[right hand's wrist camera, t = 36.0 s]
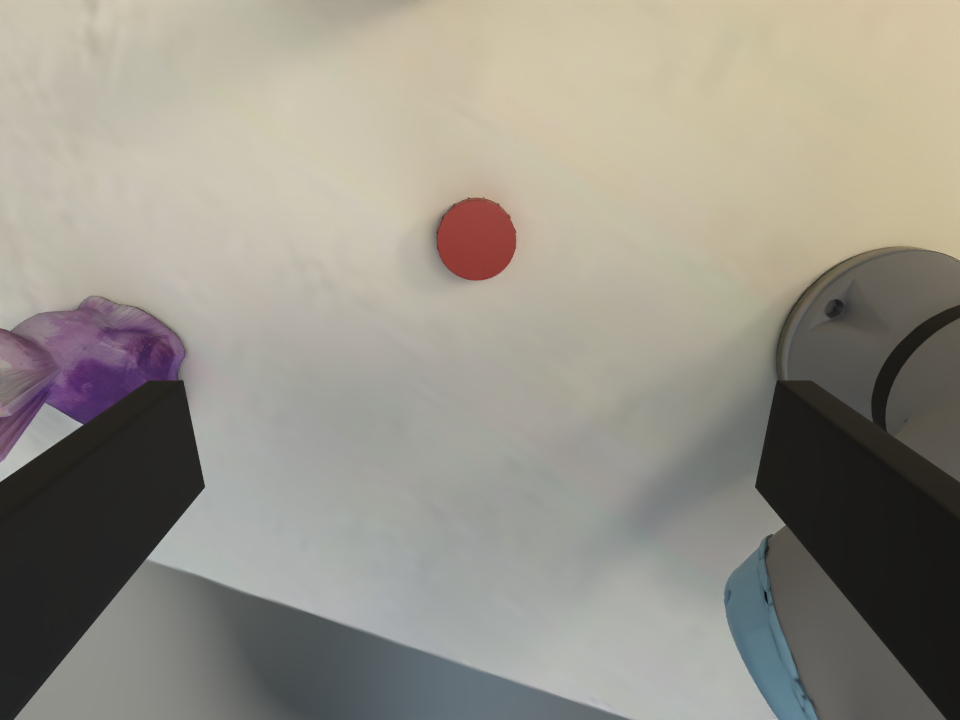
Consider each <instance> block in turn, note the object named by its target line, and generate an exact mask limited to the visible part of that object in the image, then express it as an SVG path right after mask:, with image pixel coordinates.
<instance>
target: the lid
mask: <svg viewBox="0 0 960 720" xmlns="http://www.w3.org/2000/svg"><path fill="white" fill-rule="evenodd" d="M442 219H443V220H442V222H441V224H440V226H439V229H438V231H437V249H438V252H439V254H440V257H441V259H442V261H443V263H444V264H445V265H446V266H447V268H448V269H449V270H450V271H452V272H453V273H454V274H456V275H457V276H459V277H462V278H464V279H468V280H485V279H489V278H492V277H494V276H496V275H497V274H499V273H500V272H501V271H503V270H504V269H505V268H506V266H507V265H508V264H509V263H510V261H511V259H512V257H513V254H514V251H515V249H516V235H515V233H516V231H515V229H514V227H513V224H512V222H511V220H510V216H509V214H508V215H507V213H506V212H505V211H504V210H503V209H502V208H501V207H500V206H499V204H498V203H497V204H496V203H494V202H492V201H490V200H487V199H485V198H484V197H483V198H468V199H466V200H463V201H461V202H459V203H457V204H454V205H453V207H452V208H451V209H450V210H449V211H448V212H447V213H446V215H444V216H443V218H442Z"/></svg>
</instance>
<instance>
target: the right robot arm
mask: <svg viewBox="0 0 960 720" xmlns="http://www.w3.org/2000/svg"><path fill="white" fill-rule="evenodd" d="M777 368H778V375H779V380H777V382H776V387H775V392H774V397H773V401H772V406H771V411H770V416H769V421H768V426H767V431H766V436H765V441H764V445H763V450H762V455H761V460H760V465H759V470H758V475H757V480H756V484H755V488H756V489H757V490H758V491H759V493H760V494H761V495H762V496H763V497H764V499H765V500H766V501H767V502H768V503H769V505H770V506H771V507H772V508H773V510H774V511H775V512H776V513H777V514H778V516H779V517H780V518H781V519H782V520H783V522H784V523H785V524H786V526H784V527H783V528H782V529H781V530H779V531H778V532H777V533H775V534H770V535H769V536H767V537H766V538H765V539H763V540H762V542H761V544H760V547H759V548H758V549H757V550H756V551H755V552H754V553H753V554H752V555H751V556H749V557H748V558H747V559H746V560H745V561H744V562H743V563H742V564H741V565H740V566H739V567H738V568H737V569H736V570H734V571H733V573H732V574H731V575H730V577H729V578H728V581H727V583H726V586H725V591H724V603H725V608H726V617H727V621H728V624H729V628H730V631H731V633H732V636H733V639H734V641H735V644H736V646H737V648H738V651H739V653H740V655H741V657H742V659H743V661H744V663H745V665H746V667H747V669H748V671H749V673H750V675H751V676H752V678H753V680H754V682H755V684H756V685H757V687H758V689H759V690H760V692H761V694H762V695H763V697H764V698H765V700H766V702H767V703H768V705H769V706H770V708H771V709H772V711H773V712H774V714H775V715H776V717H777V718H778V720H960V261H959V260H957V259H955V258H953V257H951V256H948V255H946V254H942V253H939V252H935V251H930V250H925V249H921V248H914V247H889V248H882V249H877V250H873V251H869V252H866V253H863V254H861V255H858V256H856V257H853V258H851V259H849V260H847V261H845V262H843V263H841V264H840V265H838V266H836V267H835V268H833V269H832V270H830V271H829V272H828V273H826V274H825V275H824V276H822V277H821V278H820V279H819V280H818V281H817V282H815V283H814V284H813V285H812V286H811V287H810V288H809V289H808V290H807V292H806V293H805V294H804V295H803V296H802V298H801V299H800V300H799V301H798V303H797V304H796V306H795V307H794V309H793V310H792V312H791V314H790V316H789V317H788V319H787V322H786V324H785V326H784V328H783V331H782V334H781V337H780V342H779V346H778V353H777ZM204 488H205V484H204V480H203V475H202V470H201V465H200V460H199V455H198V450H197V445H196V441H195V436H194V431H193V426H192V421H191V416H190V411H189V406H188V401H187V397H186V392H185V387H184V382H183V380H148V381H147V382H145V383H144V384H143V385H141V386H140V387H138V388H137V389H135V390H134V391H132V392H131V393H129V394H128V395H127V396H125V397H124V398H122V399H121V400H119V401H118V402H116V403H115V404H113V405H112V406H110V407H109V408H108V409H106V410H105V411H103V412H102V413H100V414H99V415H97V416H96V417H94V418H93V419H92V420H90V421H89V422H87V423H86V424H84V425H83V426H81V427H80V428H78V429H77V430H76V431H74V432H73V433H71V434H70V435H68V436H67V437H65V438H64V439H62V440H61V441H59V442H58V443H57V444H55V445H54V446H52V447H51V448H49V449H48V450H46V451H45V452H43V453H42V454H41V455H39V456H38V457H36V458H35V459H33V460H32V461H30V462H29V463H27V464H26V465H25V466H23V467H22V468H20V469H19V470H17V471H16V472H14V473H13V474H11V475H10V476H8V477H7V478H6V479H4V480H3V481H1V482H0V720H14V718H15V717H16V716H17V715H18V714H19V712H20V711H21V710H22V709H23V708H24V706H25V705H26V704H27V703H28V701H29V700H30V699H31V698H32V697H33V695H34V694H35V693H36V692H37V691H38V689H39V688H40V687H41V686H42V685H43V683H44V682H45V681H46V680H47V678H48V677H49V676H50V675H51V674H52V672H53V671H54V670H55V669H56V667H57V666H58V665H59V664H60V663H61V661H62V660H63V659H64V658H65V657H66V655H67V654H68V653H69V652H70V650H71V649H72V648H73V647H74V646H75V644H76V643H77V642H78V641H79V639H80V638H81V637H82V636H83V635H84V633H85V632H86V631H87V630H88V629H89V627H90V626H91V625H92V624H93V623H94V621H95V620H96V619H97V618H98V616H99V615H100V614H101V613H102V612H103V610H104V609H105V608H106V607H107V606H108V604H109V603H110V602H111V601H112V599H113V598H114V597H115V596H116V595H117V593H118V592H119V591H120V590H121V589H122V587H123V586H124V585H125V584H126V582H127V581H128V580H129V579H130V578H131V576H132V575H133V574H134V573H135V572H136V570H137V569H138V568H139V567H140V565H141V564H142V563H143V562H144V561H145V559H146V558H147V557H148V556H149V555H150V553H151V552H152V551H153V550H154V548H155V547H156V546H157V545H158V544H159V542H160V541H161V540H162V539H163V537H164V536H165V535H166V534H167V533H168V531H169V530H170V529H171V528H172V527H173V525H174V524H175V523H176V522H177V520H178V519H179V518H180V517H181V516H182V514H183V513H184V512H185V511H186V510H187V508H188V507H189V506H190V505H191V503H192V502H193V501H194V500H195V499H196V497H197V496H198V495H199V494H200V493H201V491H202V490H203V489H204Z"/></svg>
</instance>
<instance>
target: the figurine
mask: <svg viewBox="0 0 960 720" xmlns="http://www.w3.org/2000/svg"><path fill="white" fill-rule="evenodd" d="M184 356H185V350H184V346H183V344H182V343H181V341H180V338H179V337H178V336H177V335H176V333H174V332H172V331H171V330H170V329H168V328H167V327H166V326H164V325H163V324H162V323H161V322H159V321H158V320H156V319H155V318H154V317H152V316H151V315H149V314H147V313H146V312H144V311H142V310H140V309H139V308H137V307H131V306H125V305H117V304H116V303H112V302H110V301H108V300H105V299H104V298H101V297H96V296H90V297H88V298H86V299H84V301H83V302H82V303H81V305H80V306H79V308H78V309H77V310H73V311H54V312H45V313H39V314H36V315H34V316H32V317H30V318H28V319H27V320H25V321H23V322H22V323H20V324H19V325H17V326H16V327H15V328H14V329H12V330H11V331H8V330H5V329H1V328H0V462H1V461H3V460H4V459H5V458H6V456H7V455H8V453H9V452H10V451H11V449H12V448H13V446H14V445H15V443H16V442H17V441H18V439H19V438H20V436H21V435H22V434H23V432H24V431H25V429H26V428H27V427H28V425H29V424H30V422H31V421H32V420H33V418H34V417H35V415H36V414H37V412H38V411H39V410H40V408H41V407H42V405H43V404H44V403H47V404H49V405H50V406H52V407H54V408H56V409H58V410H59V411H61V412H63V413H64V414H66V415H68V416H69V417H71V418H73V419H74V420H76V421H78V422H80V423H82V424H86V423H87V422H89V421H90V420H92V419H93V418H94V417H96V416H97V415H99V414H100V413H102V412H103V411H105V410H106V409H108V408H109V407H110V406H112V405H113V404H115V403H116V402H118V401H119V400H121V399H122V398H124V397H125V396H127V395H128V394H129V393H131V392H132V391H134V390H135V389H137V388H138V387H140V386H141V385H143V384H144V383H145V382H147V381H148V380H178V368H179V366H180V363H181V361H182V360H183V359H184Z"/></svg>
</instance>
